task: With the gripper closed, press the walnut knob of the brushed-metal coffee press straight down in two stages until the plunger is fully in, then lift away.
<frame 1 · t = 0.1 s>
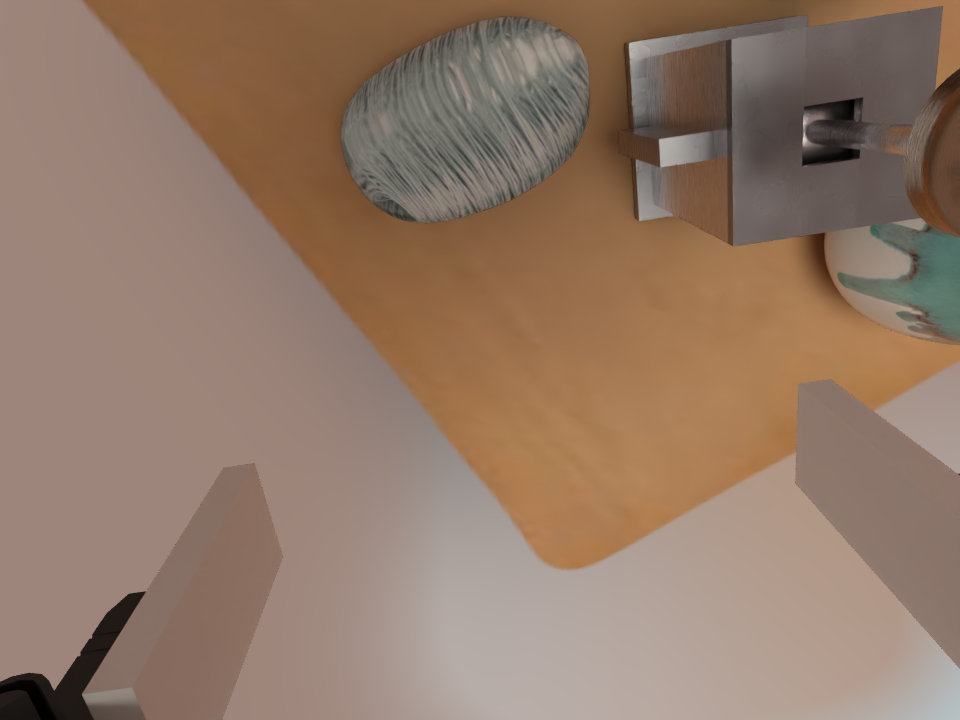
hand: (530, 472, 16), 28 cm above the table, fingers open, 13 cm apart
plunger: (898, 138, 23), point 18 cm above the table, slide at 0.0 cm
striped grey egg shape: (465, 120, 40), on the table
vase: (887, 221, 43), on the table
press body: (713, 122, 40), on the table
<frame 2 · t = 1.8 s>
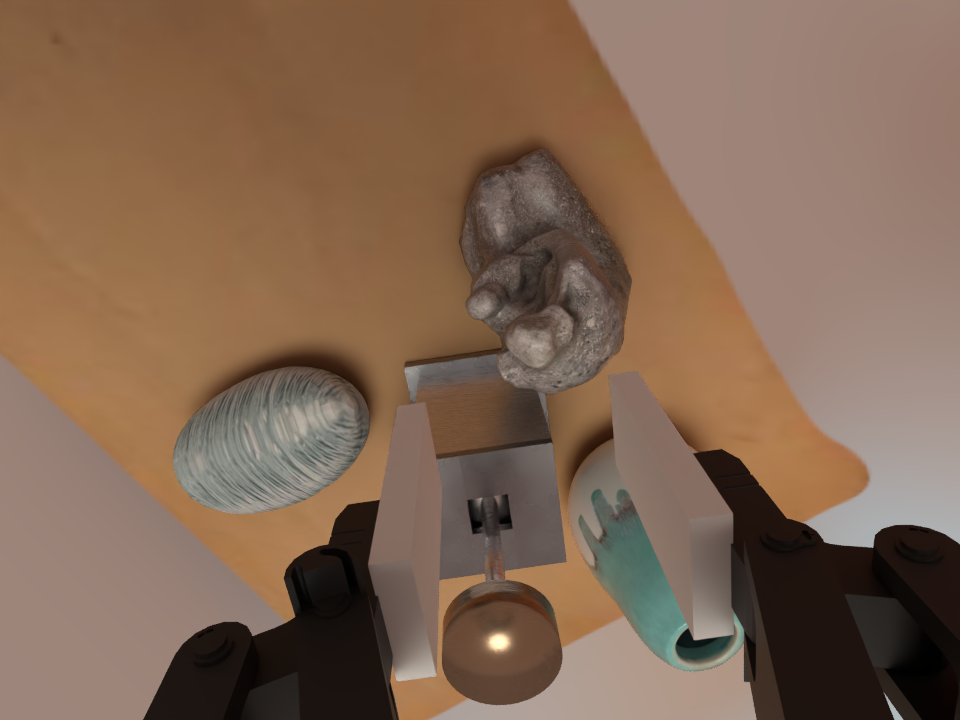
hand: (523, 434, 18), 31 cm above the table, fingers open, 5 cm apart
plunger: (494, 563, 35), point 18 cm above the table, slide at 0.0 cm
striped grey egg shape: (287, 412, 52), on the table
vase: (630, 476, 55), on the table
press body: (481, 412, 52), on the table
figurine: (527, 250, 48), on the table
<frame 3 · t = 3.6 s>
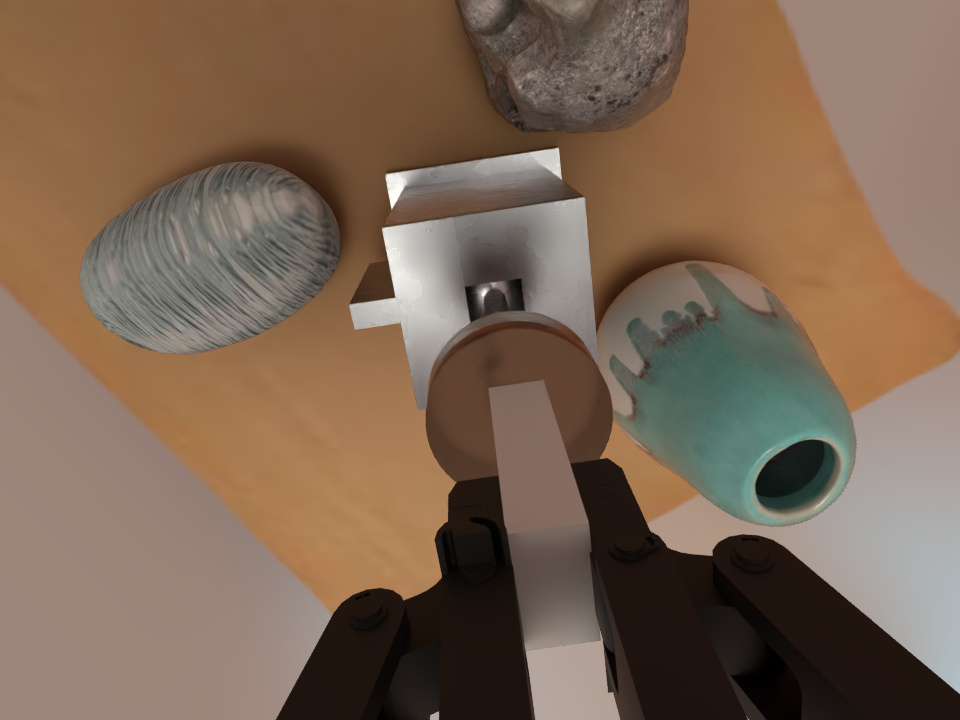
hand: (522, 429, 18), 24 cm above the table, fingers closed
plunger: (503, 342, 25), point 18 cm above the table, slide at 0.4 cm, touching gripper
striped grey egg shape: (239, 243, 41), on the table
vase: (668, 333, 44), on the table
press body: (483, 244, 41), on the table
figurine: (544, 14, 37), on the table
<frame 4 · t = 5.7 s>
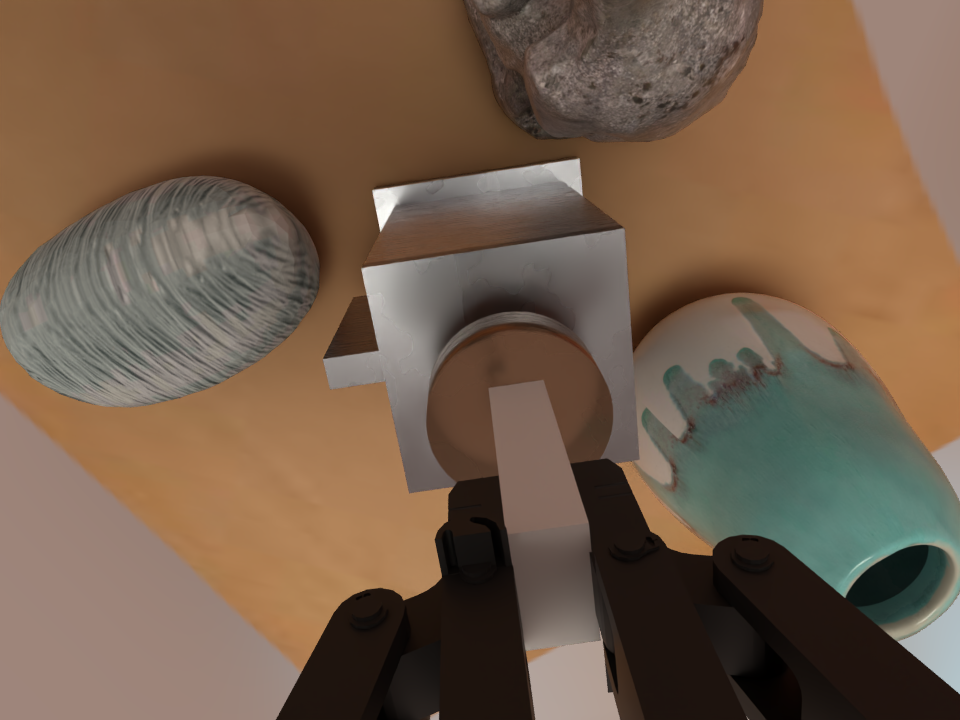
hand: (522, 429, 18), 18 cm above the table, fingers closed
plunger: (503, 343, 25), point 11 cm above the table, slide at 7.1 cm, touching gripper
striped grey egg shape: (201, 269, 35), on the table
vase: (704, 373, 38), on the table
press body: (489, 270, 35), on the table
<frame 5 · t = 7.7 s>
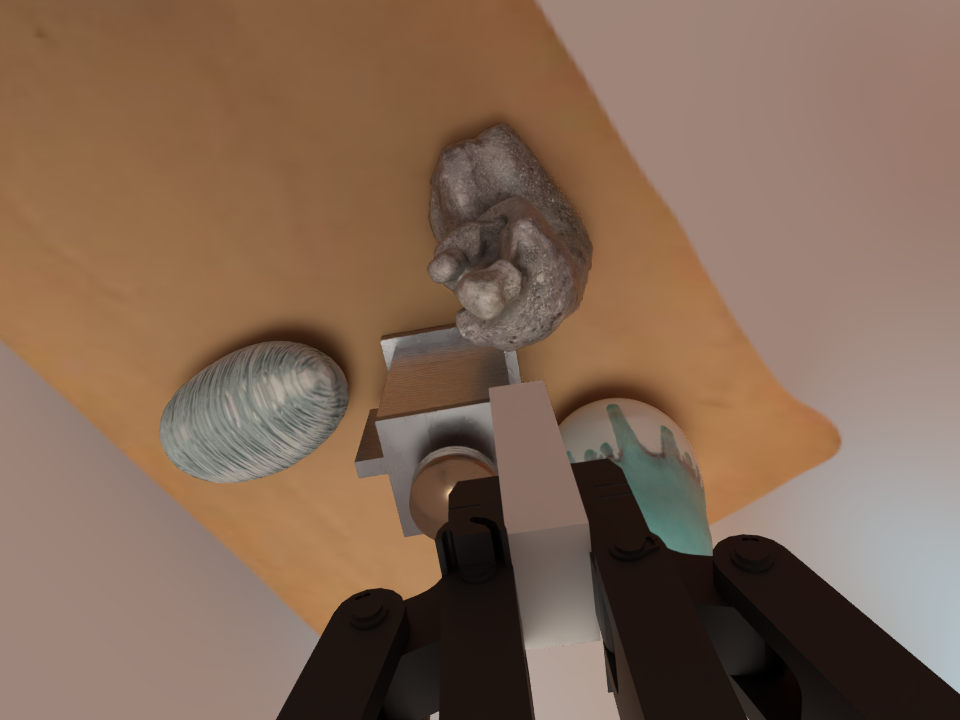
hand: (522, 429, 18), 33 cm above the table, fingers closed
plunger: (456, 449, 43), point 11 cm above the table, slide at 7.1 cm
striped grey egg shape: (271, 388, 54), on the table
vase: (605, 444, 56), on the table
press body: (457, 384, 54), on the table
figurine: (495, 223, 50), on the table
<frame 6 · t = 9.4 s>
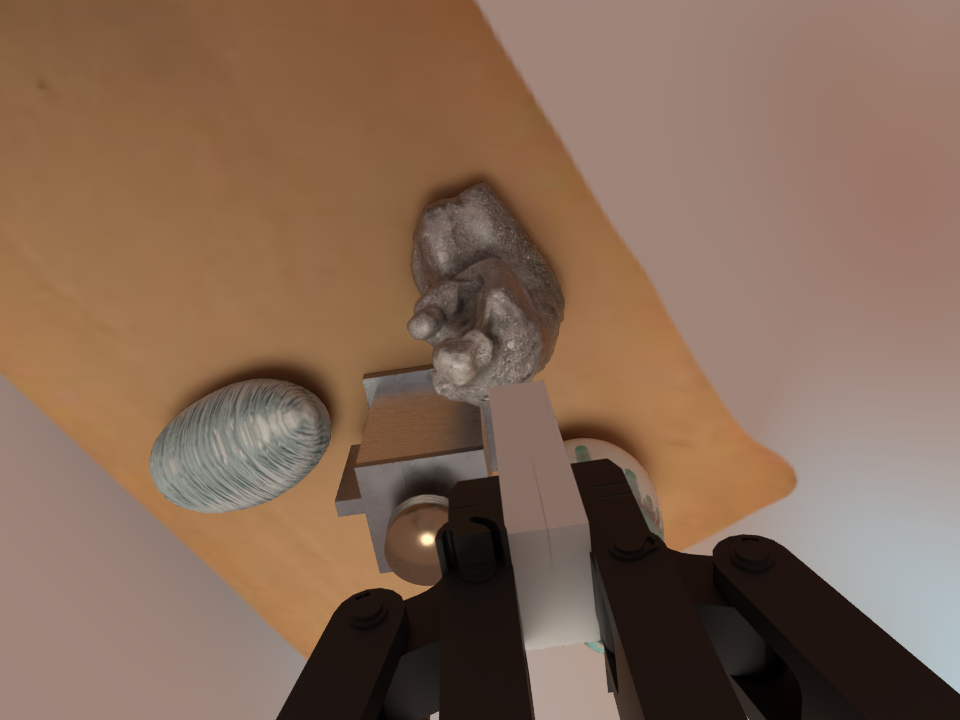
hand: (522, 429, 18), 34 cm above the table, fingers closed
plunger: (431, 491, 46), point 11 cm above the table, slide at 7.1 cm
striped grey egg shape: (257, 420, 56), on the table
vase: (575, 478, 59), on the table
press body: (435, 420, 56), on the table
figurine: (474, 272, 52), on the table
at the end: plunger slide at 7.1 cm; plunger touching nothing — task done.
